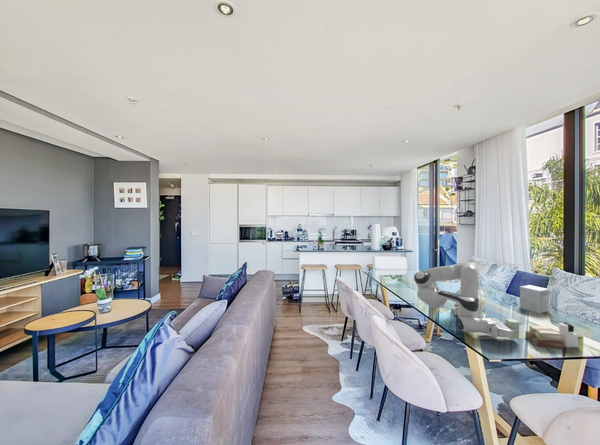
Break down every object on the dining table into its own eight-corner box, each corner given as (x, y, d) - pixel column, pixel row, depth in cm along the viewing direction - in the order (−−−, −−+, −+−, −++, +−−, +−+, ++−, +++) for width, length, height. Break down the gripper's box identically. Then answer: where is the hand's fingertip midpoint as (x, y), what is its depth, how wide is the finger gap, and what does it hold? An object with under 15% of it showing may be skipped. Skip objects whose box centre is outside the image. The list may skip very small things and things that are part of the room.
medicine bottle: (565, 341, 158) (566, 321, 157) (578, 347, 151) (579, 326, 150) (553, 341, 157) (554, 321, 157) (566, 347, 150) (566, 326, 150)
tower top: (529, 331, 161) (529, 325, 161) (548, 333, 159) (548, 326, 159) (540, 339, 151) (540, 332, 151) (561, 341, 149) (561, 334, 149)
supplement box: (549, 311, 204) (550, 289, 203) (539, 313, 199) (539, 290, 199) (529, 305, 217) (529, 284, 216) (518, 307, 212) (519, 286, 211)
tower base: (525, 338, 163) (525, 330, 162) (548, 339, 160) (548, 332, 160) (538, 347, 151) (538, 340, 151) (563, 350, 148) (563, 342, 148)
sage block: (504, 334, 162) (505, 318, 161) (514, 335, 160) (514, 319, 160) (509, 338, 157) (509, 321, 156) (518, 339, 156) (519, 322, 155)
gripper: (479, 323, 171) (504, 325, 168) (495, 338, 151) (523, 341, 148) (480, 314, 171) (504, 316, 168) (496, 327, 151) (524, 330, 148)
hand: (513, 327), depth 158 cm, fingers closed on sage block, 5 cm apart
